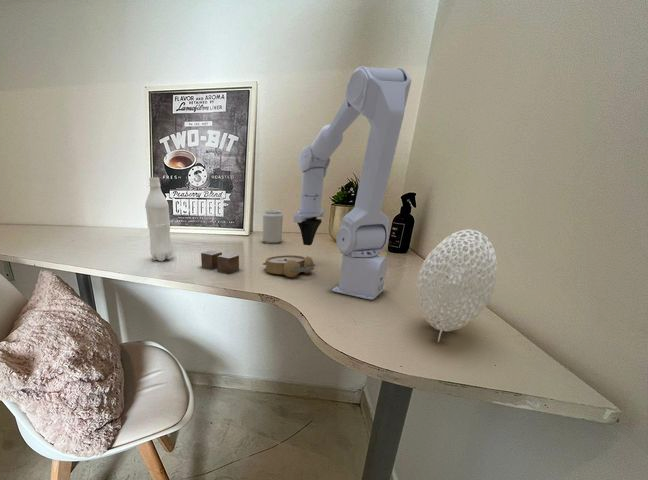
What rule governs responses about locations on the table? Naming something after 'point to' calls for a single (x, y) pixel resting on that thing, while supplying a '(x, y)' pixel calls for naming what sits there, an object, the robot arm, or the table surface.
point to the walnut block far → (210, 259)
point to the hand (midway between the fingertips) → (307, 244)
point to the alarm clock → (289, 265)
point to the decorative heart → (456, 280)
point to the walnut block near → (228, 263)
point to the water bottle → (158, 222)
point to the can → (272, 226)
